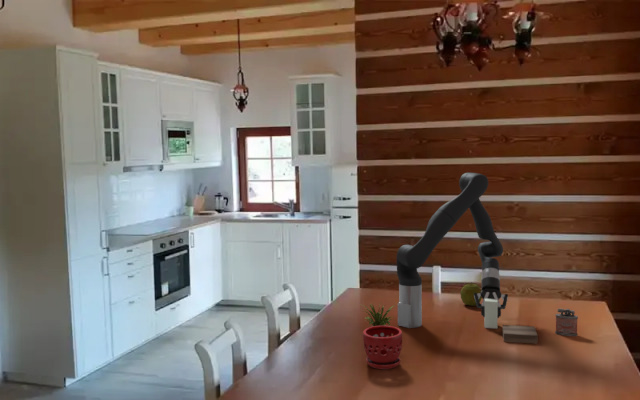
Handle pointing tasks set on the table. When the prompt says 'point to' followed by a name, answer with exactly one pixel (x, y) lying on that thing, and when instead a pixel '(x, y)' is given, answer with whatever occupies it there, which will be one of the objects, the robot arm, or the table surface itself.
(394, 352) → the plant pot
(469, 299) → the apple
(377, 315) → the house plant
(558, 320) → the lighter
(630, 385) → the table surface
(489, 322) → the sage pillar
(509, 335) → the walnut base
